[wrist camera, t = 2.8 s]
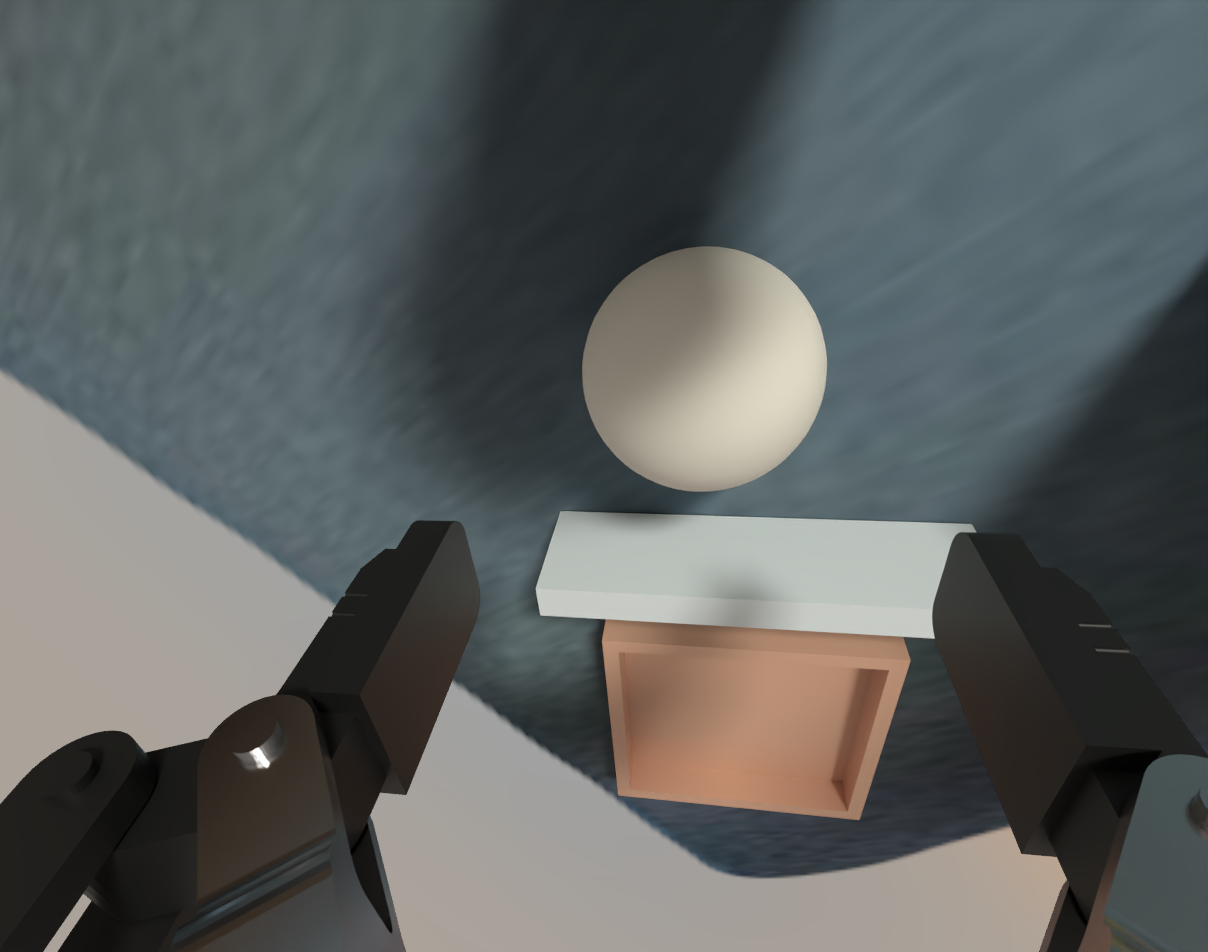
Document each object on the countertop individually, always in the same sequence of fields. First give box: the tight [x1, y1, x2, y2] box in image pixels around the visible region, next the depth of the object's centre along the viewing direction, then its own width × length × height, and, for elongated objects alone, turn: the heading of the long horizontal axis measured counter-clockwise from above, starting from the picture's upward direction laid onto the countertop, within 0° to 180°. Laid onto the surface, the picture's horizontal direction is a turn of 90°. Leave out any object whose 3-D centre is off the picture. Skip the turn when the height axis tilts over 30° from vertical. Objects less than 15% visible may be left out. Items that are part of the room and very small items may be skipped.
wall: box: [536, 511, 977, 639], centre depth 20 cm, size 1×14×4 cm, turn 94°
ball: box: [582, 246, 827, 492], centre depth 16 cm, size 6×6×6 cm
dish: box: [602, 619, 911, 820], centre depth 26 cm, size 11×11×2 cm
